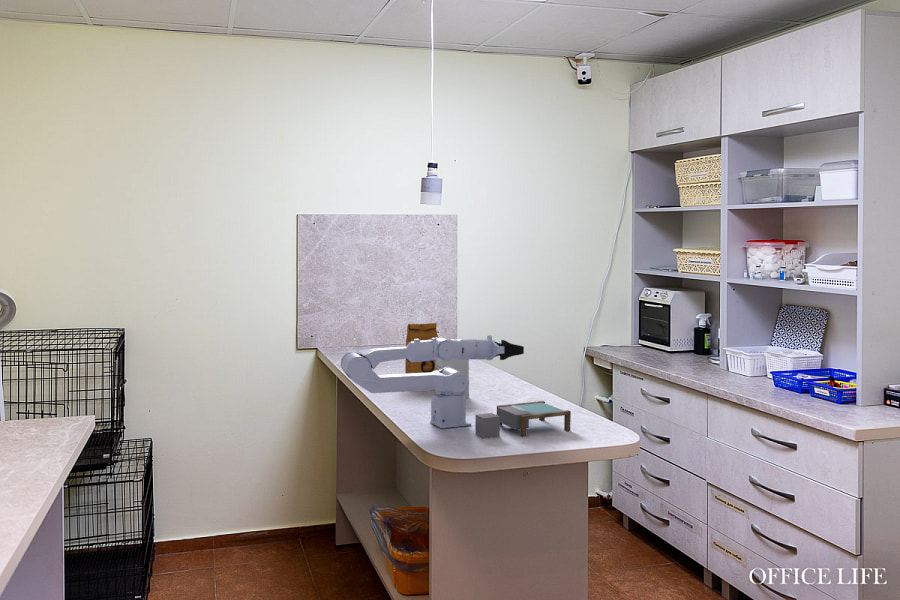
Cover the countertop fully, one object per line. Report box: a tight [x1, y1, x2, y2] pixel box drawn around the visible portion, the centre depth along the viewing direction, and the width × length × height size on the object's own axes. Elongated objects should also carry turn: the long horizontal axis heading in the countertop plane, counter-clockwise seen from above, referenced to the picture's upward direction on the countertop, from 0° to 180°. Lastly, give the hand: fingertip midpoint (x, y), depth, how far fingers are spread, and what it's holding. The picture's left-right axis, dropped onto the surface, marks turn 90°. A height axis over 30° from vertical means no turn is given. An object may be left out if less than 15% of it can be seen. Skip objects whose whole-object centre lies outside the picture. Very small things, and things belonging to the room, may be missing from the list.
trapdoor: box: [498, 402, 565, 431], centre depth 219 cm, size 15×11×4 cm
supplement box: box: [435, 358, 470, 399], centre depth 261 cm, size 9×9×15 cm
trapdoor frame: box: [496, 400, 572, 438], centre depth 220 cm, size 15×14×6 cm
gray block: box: [474, 412, 501, 439], centre depth 212 cm, size 5×4×6 cm
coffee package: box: [404, 322, 439, 374], centre depth 279 cm, size 10×12×22 cm
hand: (517, 349), depth 228 cm, fingers open, 7 cm apart
